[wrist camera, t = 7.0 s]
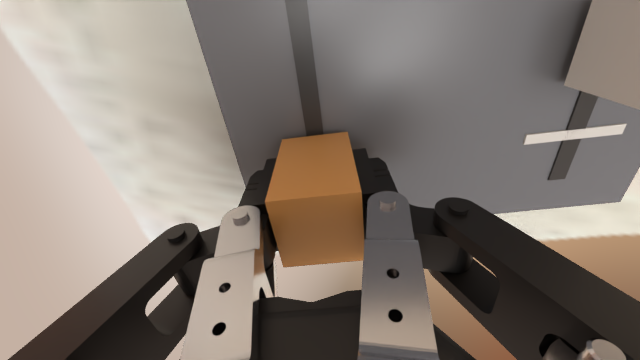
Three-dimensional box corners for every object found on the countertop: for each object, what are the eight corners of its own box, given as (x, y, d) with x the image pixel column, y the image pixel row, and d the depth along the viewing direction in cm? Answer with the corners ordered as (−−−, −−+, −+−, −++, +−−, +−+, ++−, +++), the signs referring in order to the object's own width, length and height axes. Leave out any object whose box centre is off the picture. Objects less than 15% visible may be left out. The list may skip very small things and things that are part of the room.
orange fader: (282, 139, 13) (264, 201, 9) (347, 131, 12) (361, 191, 8) (293, 193, 14) (283, 267, 10) (351, 186, 14) (365, 260, 10)
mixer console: (106, -384, 8) (-1, -579, 5) (897, -577, 7) (1278, -962, 4) (268, 205, 19) (261, 237, 16) (576, 173, 18) (621, 202, 15)
